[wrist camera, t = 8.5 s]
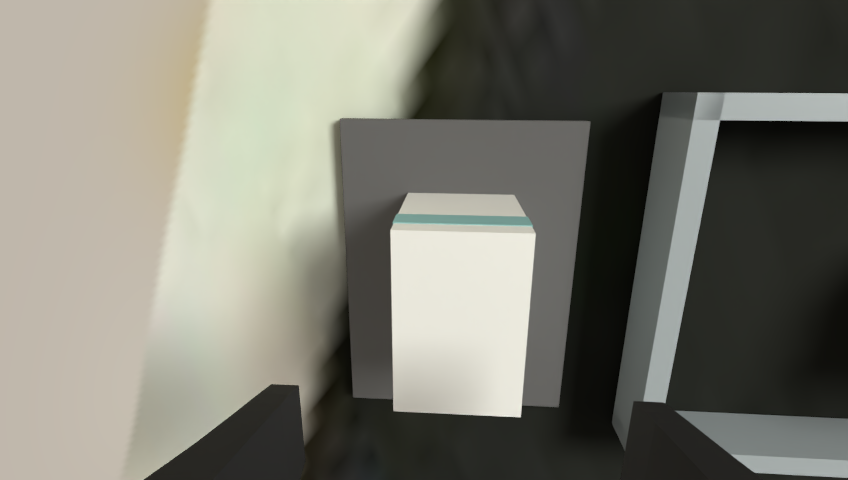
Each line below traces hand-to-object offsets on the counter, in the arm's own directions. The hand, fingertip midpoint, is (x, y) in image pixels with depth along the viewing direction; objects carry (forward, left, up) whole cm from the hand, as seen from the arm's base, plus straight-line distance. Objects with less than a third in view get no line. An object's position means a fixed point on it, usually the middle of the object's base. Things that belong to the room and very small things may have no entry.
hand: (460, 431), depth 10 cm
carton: (0, 0, -9) cm, 9 cm away
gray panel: (0, 0, -9) cm, 9 cm away
